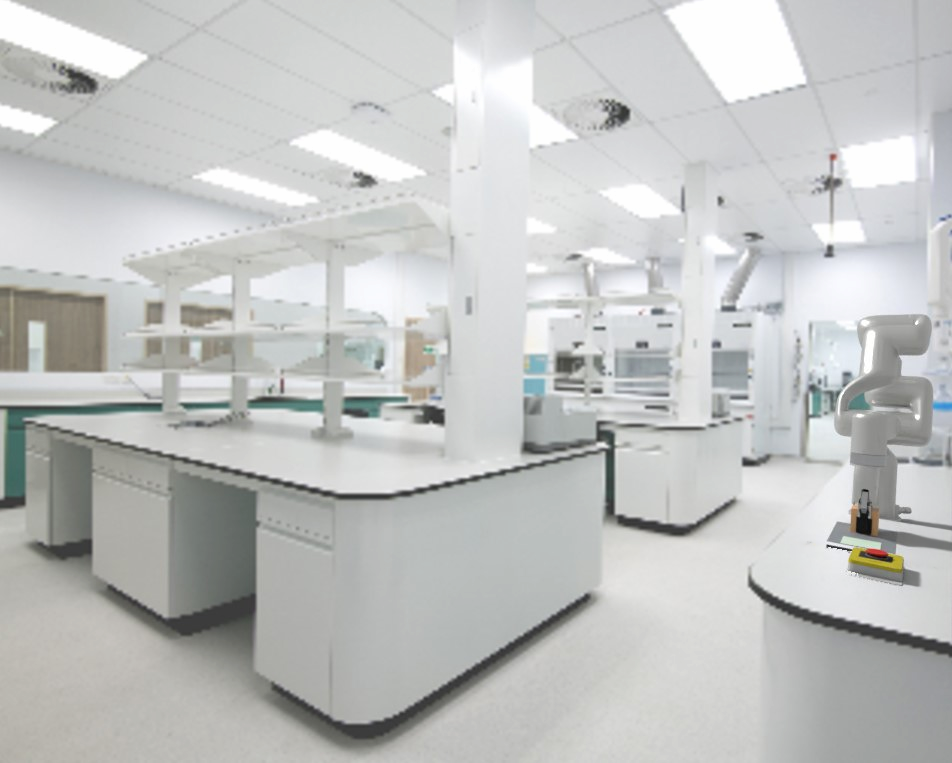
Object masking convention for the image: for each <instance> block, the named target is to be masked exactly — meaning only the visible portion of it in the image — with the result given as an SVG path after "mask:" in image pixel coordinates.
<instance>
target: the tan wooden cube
mask: <svg viewBox="0 0 952 763" xmlns="http://www.w3.org/2000/svg"><path fill="white" fill-rule="evenodd" d="M867 506H868V505H867ZM850 509H851V514H850V524H851V525H850V532H854V533H857V532H856V517H857V515H858V505H853V504H852V506H851V508H850ZM868 510H869V509H868ZM871 519H872V532H871V535H872V536H878V528H879V525H880V519H879V508H872V509H871ZM879 529H880V528H879ZM860 534H861V533H860ZM866 535H867V534H866Z"/></svg>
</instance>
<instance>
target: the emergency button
mask: <svg viewBox="0 0 952 763" xmlns="http://www.w3.org/2000/svg"><path fill="white" fill-rule="evenodd" d="M852 549H853V550H852V552H850V553H849V557H848V560H847V568H846V571H845V573H846V572H847V570H848V571H851V573H852V572H855V573H856V574H855V576H854V577H856V576H857V573H858V576H859V577H858V578H861V577H863V579H865V578H867V579H866V580H870V579H871V581H874V580H875V582H879V581H880V583H883V582H884V584H888V583H889V585H892V584H894V585H893V586H897V585H899V586H900V585H901V586H902V585H903V581H904V573H905V567H904V566H905V565H904V561H905V560H904V556H902V555H898V554H892V553H887V552H885V551H882V550H878V549H865V548H860V547H855V546H853V547H852ZM850 576H852V574H851V575H850ZM899 586H898V587H899ZM901 586H900V587H901Z"/></svg>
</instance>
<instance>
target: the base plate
mask: <svg viewBox="0 0 952 763" xmlns="http://www.w3.org/2000/svg"><path fill="white" fill-rule="evenodd" d="M850 525H851V523H849V522H843V521H836V522H835V525H834V527H833V528H832V530H831V532H830V534H829V536H828V537H827V539H826V542H830V543H836V544H840V545H845V546H849V547H857V548H863V549H878V550H882V551H885V552H887V553H889V554H894V555H896V547H897V546H896V545H897V537H898V536H897V534H898V531H897V530H896V531H895V530H890V529H885V528H878V536H872V535H866V534H860V533H854V532H850ZM825 547H826V548H828V547H831V548H830V549H833V548H837V549H836V550H838V549H842V550H841V551H843V550H847V551H846V552H848V551H852V550H853V548H847V547H843V546H838V545H837V546H836V545H832V544H826V546H825Z"/></svg>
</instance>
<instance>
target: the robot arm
mask: <svg viewBox="0 0 952 763" xmlns="http://www.w3.org/2000/svg"><path fill="white" fill-rule="evenodd" d="M932 324H933V323H932V320H931V318H930V317H929V316H928V315H927V314H920V313H916V314H914V313H911V314H880V315H878V314H877V315H876V314H875V315H870V316H865V317H863V318H861V319H859V321H858V323H857V325H856V327H857V328H856V330H857V331H856V332H857V337H858V342H859V344H860V348H861V355H860V363H859V370H858V375H857V376H856V377H855V378H853V379H852V380H851V381H849V383H847V384H846V385H845V386H844V387H843V389H842V390H841V391H840V392H839V394H838V396H837V400H836V402H835V403H836V404H835V410H834V417H833V420H834V421H833V426H834V430H835V432H836V433H837V434H838V435H840V436H843V437H849V438H850V454H849V455H850V456H849V465H850V466H853V467H854V468H853V475H852V476H853V477H852V478H853V479H852V489H851V490H852V491H851V492H852V494H851V505H852V506H853V505H858V515H857V517H856V532H857V533H861V534H867V535H871V532H872V519H871V509H872V508H879V520H883V521H891V522H897V523H902V517H901V516H899V515H901V514H904V515H908V514H909V515H911V514H912V512H913V511H912V508H911V507H910V506H900V505H899V504H896V503H897V502H896V501H897V483H898V481H897V480H898V465H899V462H898V459H897V457H896V455H895V453H894V452H893V451H892V450H891V449H890V448H889V447H888V445H889V446H891V445H892V446H894V445H895V446H903V447H904V446H905V447H916V448H918V447H919V448H921V447H925V446H928V445H929V444H930V442H931V439H932V433H933V416H934V415H933V414H934V388H933V384H932V381H930V380H929V379H928V378H926V377H924V376H919V375H917V376H915V375H914V376H912V375H909V376H908V375H902V365H903V361H902V359H901V357H902V356H908V357H909V356H910V357H911V356H912V357H913V356H923V355H925V354H926V352H927V351H928V349H929V347H930V343H931V337H932V330H933V325H932ZM861 394H862V395H864V401H865V402H866V404H867V405H868V406H871V407H874V408H875V407H876V408H888V409H904V410H906V409H907V410H909V411H911V412H903V411H902V412H901V411H894V410H893V411H892V410H890V411H888V410H867V409H866V410H865V409H854V408H853V409H850V408H849V406H850V403H851V402H852V400H854V399H855V398H856V397H859V396H860V395H861ZM867 505H868V506H867ZM868 509H869V510H868ZM848 514H849V515H851V508H850V509H849V510H848Z"/></svg>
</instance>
